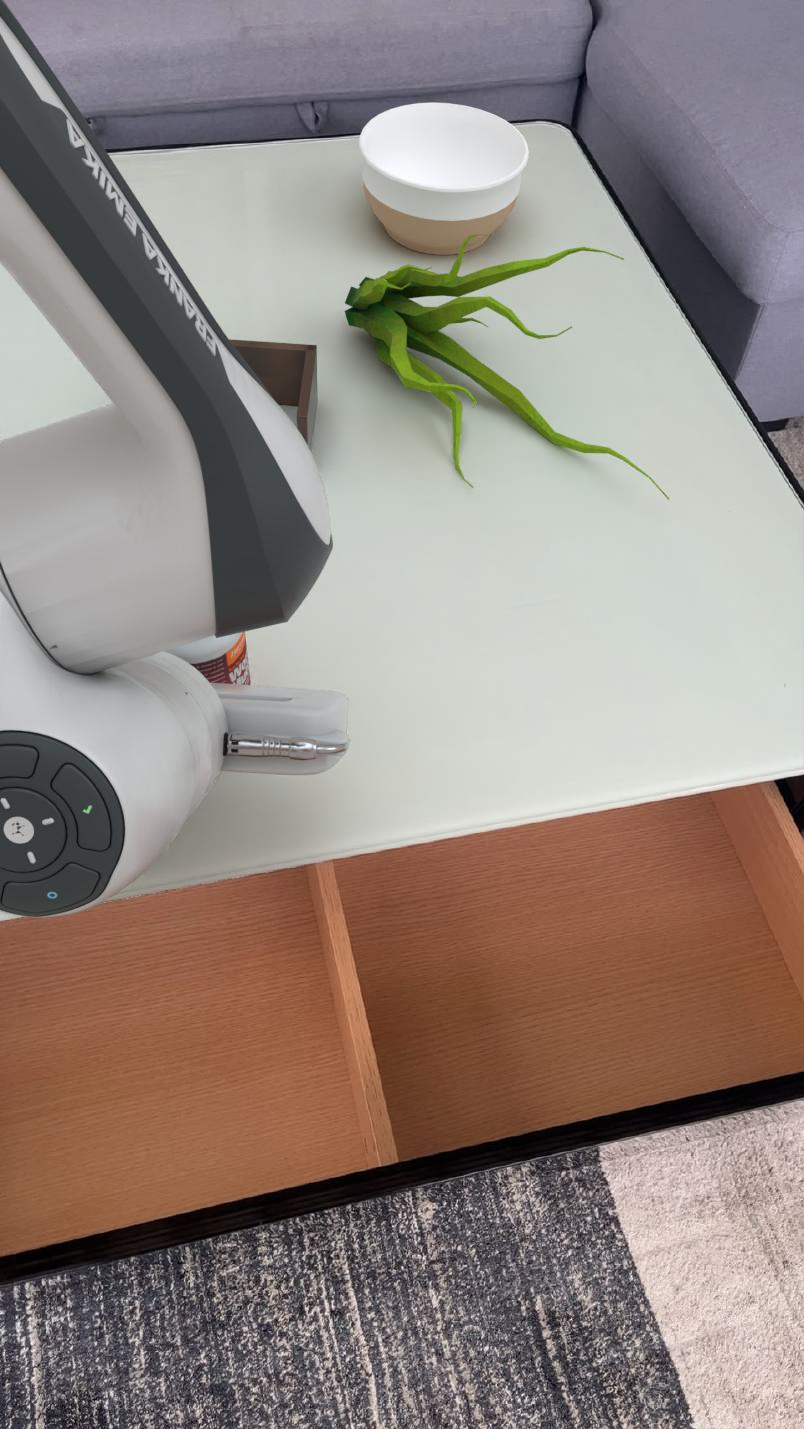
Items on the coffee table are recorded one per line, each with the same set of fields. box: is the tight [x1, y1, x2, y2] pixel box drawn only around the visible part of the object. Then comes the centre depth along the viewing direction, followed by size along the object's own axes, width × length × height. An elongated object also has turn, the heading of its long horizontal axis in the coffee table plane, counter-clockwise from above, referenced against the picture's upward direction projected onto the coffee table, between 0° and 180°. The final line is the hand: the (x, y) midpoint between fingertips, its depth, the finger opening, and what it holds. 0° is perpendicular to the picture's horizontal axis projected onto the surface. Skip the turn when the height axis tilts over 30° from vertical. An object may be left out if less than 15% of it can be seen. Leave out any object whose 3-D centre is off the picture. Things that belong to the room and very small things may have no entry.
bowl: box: [358, 102, 530, 256], centre depth 102 cm, size 16×16×8 cm
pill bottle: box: [165, 631, 252, 685], centre depth 67 cm, size 6×6×11 cm
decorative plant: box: [344, 234, 670, 501], centre depth 83 cm, size 18×30×15 cm, turn 18°
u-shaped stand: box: [228, 338, 318, 452], centre depth 84 cm, size 11×9×6 cm
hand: (188, 697), depth 65 cm, fingers closed, pressing on pill bottle
